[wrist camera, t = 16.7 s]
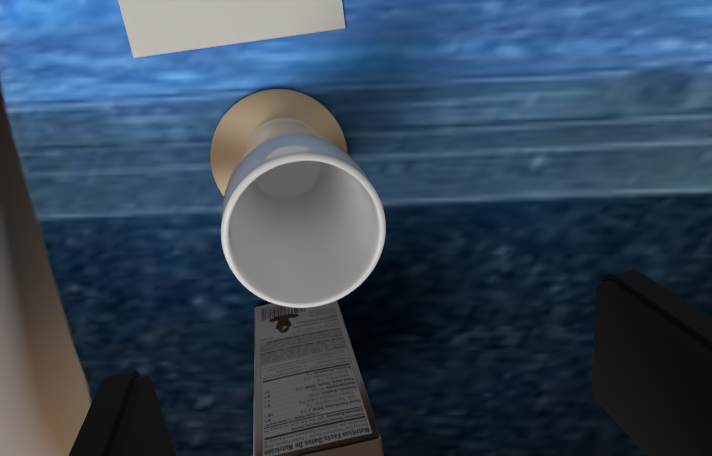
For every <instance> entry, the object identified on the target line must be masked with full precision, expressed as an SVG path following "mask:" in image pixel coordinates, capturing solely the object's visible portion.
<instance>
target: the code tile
mask: <svg viewBox="0 0 712 456" xmlns="http://www.w3.org/2000/svg"><path fill="white" fill-rule="evenodd" d="M118 2H119V5H120V9H121V13H122V16H123V20H124V24H125V27H126V31H127V35H128V39H129V42H130V46H131V50H132V53H133V57H134V58H136V57H143V56H151V55H158V54H165V53H172V52H179V51H186V50H193V49H201V48H208V47H215V46H222V45H229V44H236V43H243V42H251V41H258V40H265V39H272V38H279V37H286V36H293V35H301V34H308V33H315V32H322V31H329V30H336V29H343V28H345V20H344V12H343V5H342V0H118Z"/></svg>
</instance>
